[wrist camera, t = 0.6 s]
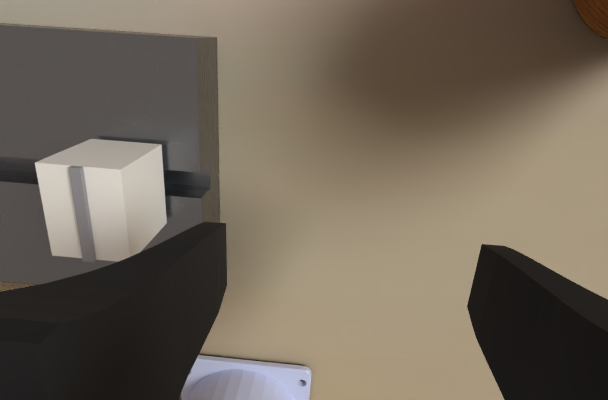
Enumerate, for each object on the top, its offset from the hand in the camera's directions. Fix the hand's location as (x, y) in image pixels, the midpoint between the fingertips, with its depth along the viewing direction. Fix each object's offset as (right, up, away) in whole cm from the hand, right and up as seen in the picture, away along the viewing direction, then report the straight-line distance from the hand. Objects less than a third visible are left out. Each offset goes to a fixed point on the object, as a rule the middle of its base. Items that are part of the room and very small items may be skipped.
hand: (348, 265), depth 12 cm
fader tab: (-9, +3, +8) cm, 12 cm away
